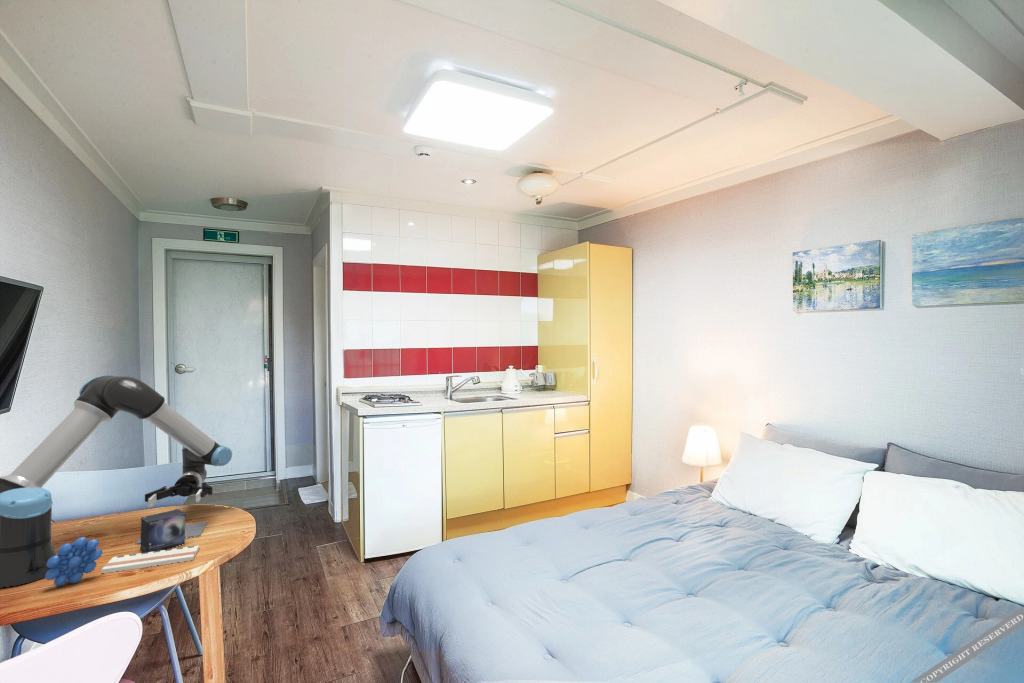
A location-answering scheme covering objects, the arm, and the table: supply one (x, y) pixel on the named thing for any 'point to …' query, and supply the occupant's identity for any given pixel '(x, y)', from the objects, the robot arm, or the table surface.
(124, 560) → the board
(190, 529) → the mat
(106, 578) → the table surface
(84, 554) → the blue bumpy cluster
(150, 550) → the small box
